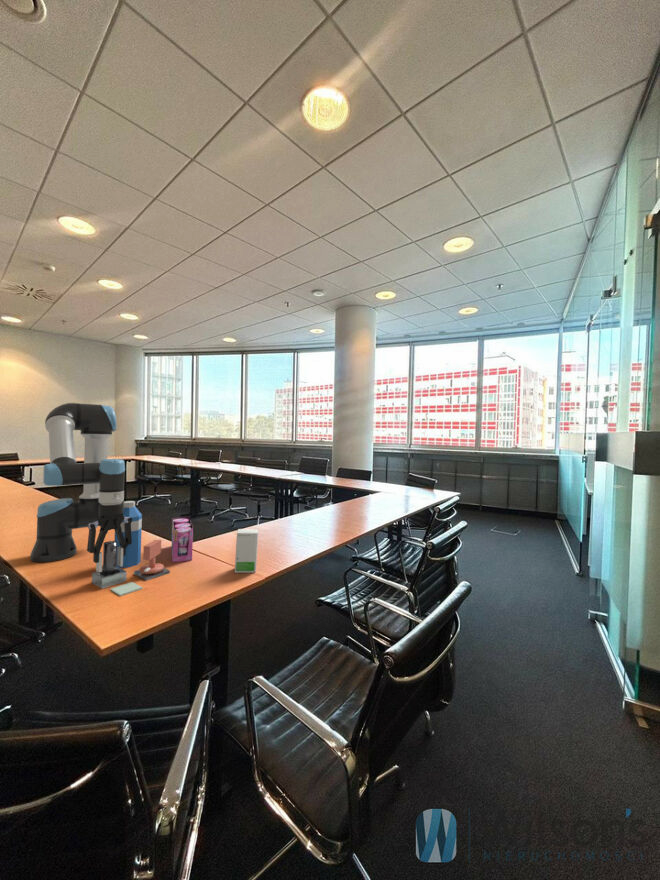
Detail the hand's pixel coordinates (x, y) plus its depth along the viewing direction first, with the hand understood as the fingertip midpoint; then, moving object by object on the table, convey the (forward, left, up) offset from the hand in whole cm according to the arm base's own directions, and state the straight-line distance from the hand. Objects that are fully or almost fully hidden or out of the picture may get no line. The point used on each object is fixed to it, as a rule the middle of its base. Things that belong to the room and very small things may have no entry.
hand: (109, 568), depth 121 cm
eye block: (0, 0, -5) cm, 5 cm away
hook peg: (0, 0, -5) cm, 5 cm away
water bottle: (-13, +12, -5) cm, 18 cm away
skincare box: (+28, +38, -5) cm, 47 cm away
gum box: (-9, +33, -5) cm, 34 cm away
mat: (+10, +1, -5) cm, 12 cm away
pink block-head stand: (+4, +13, -3) cm, 14 cm away
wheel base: (+4, +13, -5) cm, 14 cm away
